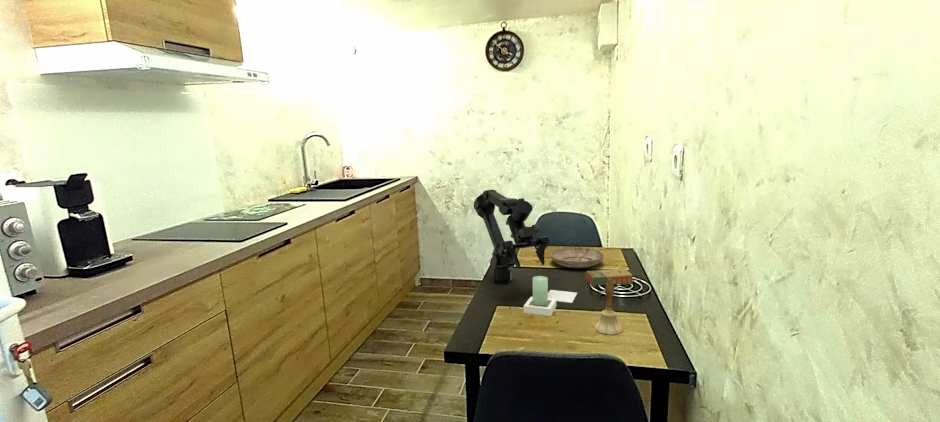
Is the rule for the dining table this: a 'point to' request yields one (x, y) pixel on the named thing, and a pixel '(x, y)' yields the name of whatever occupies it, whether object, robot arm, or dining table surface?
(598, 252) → the ceramic bowl
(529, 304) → the shallow square tray
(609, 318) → the hand bell
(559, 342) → the dining table surface
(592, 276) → the carton
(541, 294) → the light green piece
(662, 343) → the dining table surface
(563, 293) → the cream panel
